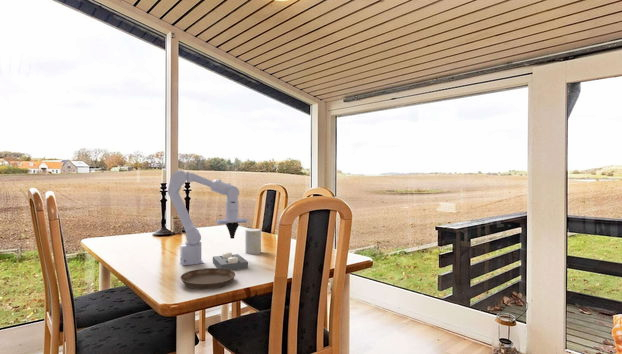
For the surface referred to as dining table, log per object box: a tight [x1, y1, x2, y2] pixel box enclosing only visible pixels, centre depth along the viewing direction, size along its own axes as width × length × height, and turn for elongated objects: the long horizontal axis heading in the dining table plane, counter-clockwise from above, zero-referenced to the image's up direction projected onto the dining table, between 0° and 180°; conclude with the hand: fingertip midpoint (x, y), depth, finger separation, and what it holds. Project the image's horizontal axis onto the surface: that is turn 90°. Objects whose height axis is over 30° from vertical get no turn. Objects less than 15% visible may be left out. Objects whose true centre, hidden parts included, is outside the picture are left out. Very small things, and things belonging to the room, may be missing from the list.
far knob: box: [221, 251, 233, 259], centre depth 175 cm, size 4×4×4 cm
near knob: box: [228, 257, 238, 264], centre depth 166 cm, size 4×4×4 cm
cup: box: [244, 228, 262, 255], centre depth 197 cm, size 8×8×12 cm
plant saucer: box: [180, 267, 236, 290], centre depth 145 cm, size 21×21×3 cm
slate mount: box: [212, 253, 249, 271], centre depth 170 cm, size 12×16×3 cm
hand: (232, 238), depth 182 cm, fingers closed
